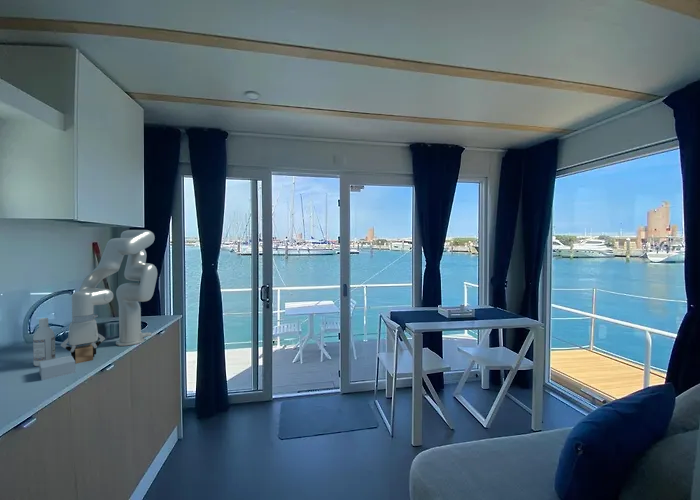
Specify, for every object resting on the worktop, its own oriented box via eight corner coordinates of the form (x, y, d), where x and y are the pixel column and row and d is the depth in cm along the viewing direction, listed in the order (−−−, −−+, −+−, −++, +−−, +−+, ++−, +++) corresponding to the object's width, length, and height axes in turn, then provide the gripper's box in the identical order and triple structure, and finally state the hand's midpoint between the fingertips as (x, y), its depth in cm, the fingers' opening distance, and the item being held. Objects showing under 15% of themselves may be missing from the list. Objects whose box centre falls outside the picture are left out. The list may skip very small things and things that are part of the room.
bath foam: (50, 359, 145) (49, 316, 145) (58, 362, 143) (57, 317, 142) (30, 365, 139) (29, 319, 139) (38, 367, 136) (37, 321, 136)
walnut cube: (91, 356, 150) (91, 343, 149) (93, 360, 145) (92, 347, 145) (74, 359, 145) (74, 346, 145) (75, 363, 141) (75, 350, 141)
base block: (71, 366, 138) (71, 355, 138) (75, 373, 131) (75, 361, 131) (39, 373, 131) (39, 361, 131) (41, 381, 124) (41, 368, 124)
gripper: (105, 314, 153) (106, 351, 154) (57, 320, 142) (58, 360, 142) (108, 317, 148) (108, 355, 148) (57, 323, 136) (58, 365, 137)
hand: (83, 357), depth 145 cm, fingers closed on walnut cube, 6 cm apart
